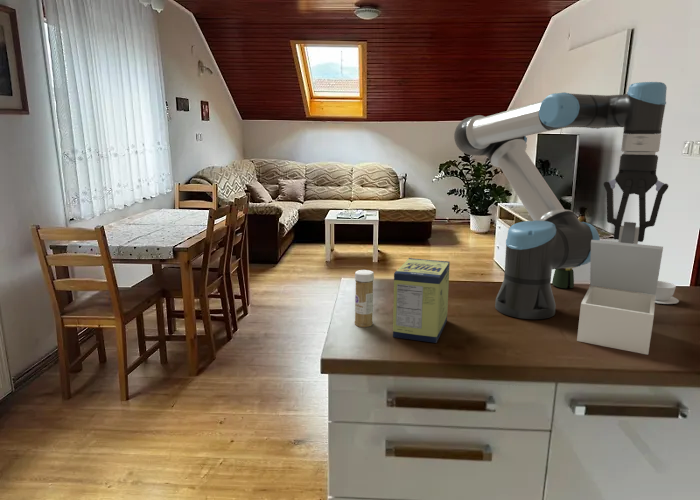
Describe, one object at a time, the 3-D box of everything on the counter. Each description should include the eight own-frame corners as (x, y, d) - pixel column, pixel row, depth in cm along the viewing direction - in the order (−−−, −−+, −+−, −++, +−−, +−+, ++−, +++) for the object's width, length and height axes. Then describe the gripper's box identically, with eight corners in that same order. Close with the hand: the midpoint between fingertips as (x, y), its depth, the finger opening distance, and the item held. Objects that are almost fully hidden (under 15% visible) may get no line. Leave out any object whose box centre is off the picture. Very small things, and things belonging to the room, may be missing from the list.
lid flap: (590, 285, 125) (595, 259, 129) (655, 294, 117) (659, 266, 122) (590, 242, 114) (597, 215, 118) (662, 249, 107) (666, 220, 111)
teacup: (678, 297, 145) (680, 282, 144) (679, 307, 136) (682, 291, 135) (638, 292, 150) (640, 277, 149) (637, 301, 141) (639, 285, 140)
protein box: (447, 320, 126) (450, 260, 122) (437, 344, 111) (440, 276, 108) (406, 315, 129) (408, 257, 126) (391, 338, 115) (393, 272, 111)
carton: (576, 340, 113) (580, 303, 111) (586, 319, 127) (590, 285, 125) (648, 354, 106) (653, 315, 104) (650, 330, 119) (655, 295, 117)
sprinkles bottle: (350, 324, 123) (350, 271, 120) (364, 319, 126) (364, 268, 123) (363, 329, 120) (364, 275, 117) (377, 324, 123) (377, 271, 120)
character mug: (552, 291, 150) (556, 249, 147) (540, 284, 157) (543, 244, 154) (585, 289, 152) (590, 247, 149) (571, 283, 158) (576, 243, 156)
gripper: (599, 153, 115) (588, 252, 120) (679, 154, 107) (664, 261, 112) (603, 152, 121) (592, 247, 126) (679, 153, 113) (665, 255, 118)
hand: (626, 253), depth 119 cm, fingers closed on lid flap, 2 cm apart
